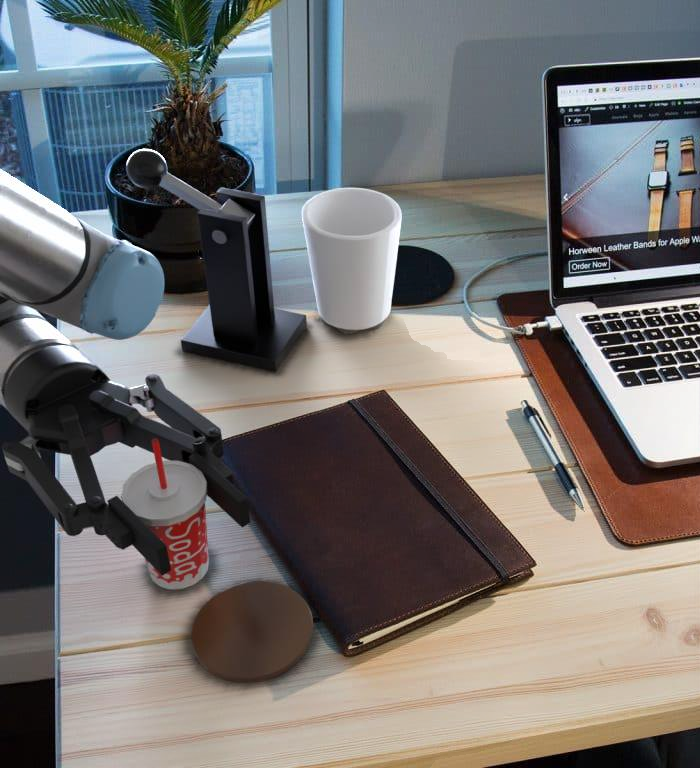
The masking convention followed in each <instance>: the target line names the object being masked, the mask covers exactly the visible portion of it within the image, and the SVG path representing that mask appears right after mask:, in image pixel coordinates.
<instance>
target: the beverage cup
mask: <svg viewBox="0 0 700 768" xmlns="http://www.w3.org/2000/svg"><path fill="white" fill-rule="evenodd" d="M152 446H153V451H154V453H153V456H154V461H155V462H153V463H150V464H146V465H144V466H143V467H141V468H140V469H137V470H135V472H133V473H132V474H131V475H130V476H129V478H127V480H126V481H125V482H124V484H123V486H122V490H121V494H120V495H121V496H120V499H121V500H122V501H123V502H124V503H125V504H126V505H127V506H128V507H129V508H130V509H131V510H132V511H133V512H134V513H135V514H136V515H137V516H138V517H139V518H140V519H141V520H142V521H143V522H144V523H145V524H146V525H147V526H148V527H149V528H150V529H151V530H152V531H153V532H154V533H155V534H156V535H157V536H158V537H159V538H160V539H161V540H162V541H163V542H164V543H165V544H166V546H167V551H168V556H169V561H170V566H171V571H169V572H168V573H166V574H164V575H163V576H162V575H161V574H160V573H159V572H158V571H157V570H156V569H155V568H154V567H153V566H152V565H151V564H150V563H149V562H148V561H147V560H146V559H145V558H144V561H145V563H146V566H147V569H148V572H149V575H150V578H151V580H152V582H153V583H155V584H156V585H157V586H158V587H160V588H164V589H167V590H183V589H186V588H189V587H191V586H192V587H193V586H194V585H196V584H197V583H199V582H200V581H201V580H202V579H203V578H204V576H205V575H206V573H207V572H208V571H209V564H210V557H209V544H208V543H209V541H208V528H207V527H208V526H207V513H206V502H207V496H208V495H207V482H206V480H205V477H204V475H203V473H202V472H201V471H200V470H199V469H197V468H196V467H195V466H193V465H192V464H188V463H185V462H181V461H170V460H163V457H162V456H161V451H160V445H159V440H158V438H153V439H152Z"/></svg>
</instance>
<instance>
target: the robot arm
mask: <svg viewBox="0 0 700 768" xmlns="http://www.w3.org/2000/svg"><path fill="white" fill-rule="evenodd" d="M164 294H165V273H164V270H163V267H162V266H161V263H160V261H159V260H158V258H157V257H156V256H155V255H154V254H152V253H151V252H150V251H147V250H145V249H143V248H141V247H139V246H135V245H133V244H132V242H130V241H129V240H126V239H121V240H120V239H117V238H115V237H113V236H110V235H108V234H106V233H104V232H101V231H100V230H98V229H96V228H95V227H93V226H92V225H90V224H89V223H87V222H85V221H84V220H82V219H80V218H79V217H77V216H75V215H73V214H71V213H69V212H68V211H67V209H64V207H63V208H62V207H61V206H60V205H58V204H56V202H55V203H54V202H53V201H52V200H50V199H49V198H47V197H45V196H44V195H42V194H40V193H39V192H37V191H36V190H34V189H32V188H31V187H29V186H28V185H26V184H25V183H23V182H21V181H20V180H18V179H17V178H15V177H13V176H11V174H9V173H7V172H6V171H3V170H2V169H1V168H0V404H1V405H2V406H3V407H4V408H5V409H6V410H7V411H8V413H9V414H10V415H11V416H12V418H14V419H15V420H16V421H17V423H19V425H20V426H22V427H23V428H24V430H26V432H28V435H27V436H26V437H25V438H23V439H21V440H20V441H17V440H7V441H5V442H4V443H2V445H1V450H2V454H3V456H4V459H5V462H6V465H7V468H8V471H9V472H10V473H11V474H13V475H15V476H17V477H18V478H20V479H23V480H24V481H26V482H27V483H28V485H29V486H30V487H31V488H32V490H33V491H34V493H36V495H37V497H38V498H39V499H40V500H41V501H42V502H41V503H43V504H44V506H45V507H46V509H47V510H48V511H49V513H50V514H51V516H53V517H54V519H55V521H56V522H57V523H58V524H59V526H60V527H61V528H62V530H63V531H64V532H65V534H66V535H68V536H70V537H76V536H78V535H80V534H82V532H83V531H84V529H87V528H93V530H94V533H95V535H97V536H102V537H103V536H105V537H106V538H107V539H108V540H109V541H110V542H111V543H112V544H113V545H114V546H115V548H117V549H120V550H123V551H124V550H126V549H127V548H129V547H131V546H133V548H134V549H135V550H137V552H139V553H140V555H141V556H142V557H143V558H144V560H145V559H146V560H147V561H148V562H149V563H150V564H151V565H152V566H153V567H154V568H155V569H156V570H157V571H158V572H159V573H160V574H161V575H162V576H163V575H164V574H166V573H168V572H169V571H171V566H170V561H169V556H168V551H167V546H166V544H165V543H164V542H163V541H162V540H161V539H160V538H159V537H158V536H157V535H156V534H155V533H154V532H153V531H152V530H151V529H150V528H149V527H148V526H147V525H146V524H145V523H144V522H143V521H142V520H141V519H140V518H139V517H138V516H137V515H136V514H135V513H134V512H133V511H132V510H131V509H130V508H129V507H128V506H127V505H126V504H125V503H124V502H123V501H122V498H121V497H119V496H118V495H115V496H113V497H111V498H109V499H108V500H107V502H106V498H105V495H104V493H103V489H102V487H101V483H100V480H99V478H98V474H97V472H96V468H95V465H94V463H93V460H92V457H91V456H93V455H96V454H97V453H99V452H100V451H102V450H103V449H105V447H108V446H111V445H114V444H117V443H120V444H123V445H125V446H127V447H129V448H131V449H133V448H135V447H138V448H139V449H142V450H145V451H147V452H149V453H152V454H154V451H153V446H152V439H153V438H158V440H159V445H160V451H161V456H162V459H165V460H166V461H181V462H185V463H188V464H192V465H193V466H195V467H196V468H197V469H199V470H200V471H201V472H202V473H203V475H204V477H205V480H206V482H207V496H208V497H209V498H210V499H211V500H212V501H213V502H214V503H215V504H216V505H217V506H218V507H219V508H220V509H222V510H223V512H224V513H226V514H227V515H228V516H229V517H230V518H231V519H232V520H233V521H234V522H235V523H236V524H238V526H240V527H241V528H244V527H246V526H247V525H249V524H250V523H251V517H250V507H249V499H248V497H247V496H246V495H245V494H244V493H242V491H240V490H239V489H238V488H237V487H236V486H235V484H234V476H233V472H232V469H231V468H230V467H229V466H227V465H226V464H225V463H224V462H223V461H222V460H221V459H220V458H222V457H223V456H224V455H225V450H224V441H223V435H222V429H221V427H219V426H217V424H215V423H214V422H212V421H211V420H210V419H208V418H207V417H205V416H204V415H203V414H201V413H200V412H199V411H197V410H196V409H195V408H193V407H192V406H190V405H189V404H188V403H186V402H185V401H184V400H183V399H181V398H180V397H178V396H177V395H176V394H174V393H173V392H172V391H170V390H169V389H167V388H166V386H165V384H164V382H163V380H162V378H161V376H160V375H159V374H157V373H152V374H148V375H147V376H145V379H144V380H145V384H141V385H137V386H133V387H130V388H129V387H127V386H126V385H124V384H121V383H117V382H114V381H112V380H111V379H110V377H109V376H108V375H107V374H106V373H105V372H104V371H103V370H102V369H101V368H100V367H99V366H98V365H97V364H96V363H95V362H94V361H92V360H91V359H90V358H89V357H88V356H87V355H86V354H85V353H84V352H83V351H82V350H80V349H79V348H78V347H77V346H76V345H75V344H74V343H73V342H71V340H69V339H68V338H67V337H66V336H65V335H64V334H63V333H61V332H60V331H59V330H58V328H56V327H55V326H54V325H53V324H52V323H50V322H49V321H48V320H47V319H46V318H44V316H42V314H45V315H47V316H49V317H51V318H55V319H57V320H59V321H61V322H63V323H66V324H68V325H70V326H71V325H72V326H74V327H76V328H78V329H81V330H82V331H85V332H86V333H88V334H91V335H92V334H96V335H99V336H102V337H104V338H107V339H111V340H115V341H123V340H128V339H132V338H134V337H136V336H137V335H139V334H141V333H142V332H143V331H145V329H146V328H147V327H148V326H149V325H150V324H151V323H152V321H153V320H154V318H155V316H156V314H157V312H158V309H159V306H160V305H161V304H162V301H163V298H164ZM41 313H42V314H41ZM136 404H138V405H140V406H142V407H143V408H144V409H146V412H148V413H152V412H153V413H154V414H155V415H156V416H157V418H158V419H160V420H161V421H162V422H163V423H162V422H159V421H156V420H154V419H152V418H150V417H148V416H146V415H143V414H142V413H140V411H139V410H138V409H137V408H136V407H134V406H133V405H136ZM40 451H42V452H49V453H54V454H55V453H57V454H63V455H68V456H70V458H71V461H72V464H73V468H74V470H75V473H76V476H77V478H78V482H79V485H80V488H81V492H82V494H83V498H84V500H85V501H84V502H81V503H77V502H76V501H75V500H74V499H73V498H72V496H71V495H70V494H69V492H68V491H67V490H66V489H65V488H64V486H63V485H62V484H61V482H60V481H59V480H58V478H57V477H56V476H55V474H54V473H53V472H52V471H51V469H50V468H49V466H47V464H46V463H45V461H44V460H43V459H42V456H41V453H40Z"/></svg>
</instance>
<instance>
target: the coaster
mask: <svg viewBox="0 0 700 768" xmlns="http://www.w3.org/2000/svg"><path fill="white" fill-rule="evenodd" d="M313 633H314V618H313V614H312V610H311V609H310V606H309V604H308V602H306V600H305V599H304V598H303V597H302V596H301V594H299V593H298V592H297V591H296V590H294V589H292V588H291V587H288V586H286V585H285V584H282V583H278V582H274V581H268V580H267V581H266V580H253V581H252V580H251V581H246V582H241V583H238V584H235V585H231V586H229V587H227V588H225V589H223V590H221V591H220V592H218V593H217V594H215V595H213V596H212V597H211V598H210V599H209V600H208V601H207V602H206V603H205V604H204V605H203V606H202V607H201V609H200V610H199V612H198V613H197V614H196V617H195V619H194V622H193V625H192V629H191V643H192V649H193V652H194V655H195V657H196V659H197V660H198V663H200V664H201V666H202V667H203V668H204V669H205V670H206V671H208V672H209V673H211V674H212V675H213V676H214V677H217V678H220V679H223V680H224V681H228V682H232V683H243V684H244V683H246V684H247V683H258V682H262V681H266V680H270V679H273V678H276V677H277V676H279V675H281V674H283V673H285V672H287V671H288V670H289V669H291V668H292V667H294V666H295V665H296V664H297V663H298V662H299V661H300V660H301V659H302V657H303V656H304V654H305V653H306V652H307V650H308V648H309V647H310V644H311V642H312V638H313V635H314V634H313Z"/></svg>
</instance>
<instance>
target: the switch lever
mask: <svg viewBox="0 0 700 768" xmlns="http://www.w3.org/2000/svg"><path fill="white" fill-rule="evenodd" d="M125 169H126V174H127V177H128V179H129V180H130V181H131V182H132V183H133V185H135V186H137V187H139V188H141V189H147V190H150V189H155V188H157V187H158V188H159V187H161V188H163V189H164V190H166V191H168V192H169V193H170V194H173V195H174V196H176V197H178V198H180V199H181V200H183V201H184V202H186V203H187V204H188V205H189V204H190V205H191V206H193V207H194V208H196V209H198V210H199V211H200V210H201V209H202V208H203V209H208V210H213V211H218V212H223V213H228V214H233V215H238V216H243V217H246V218H247V227H248V229H249V227H250V225H251V223H252V221H253V219H254V216H255V214H253V213H252V212H250V211H249V210H247V209H245V208H244V207H242V206H240V205H239V204H237V203H235V202H234V201H232V200H230V199H228V200H227V202H226V203H225V204H224V205H223V206H222V205H220V204H219V203H218V201H216V200H215V199H212V198H211V197H209V196H207V195H206V194H204V193H202V192H200V191H199V190H198V189H196V188H194V187H192V186H191V185H189V184H188V183H186V182H184V181H183V180H181V179H179V178H177V177H176V176H174V175H172V174H171V173H170V172H168V165H167V162H166V160H165V158H164V157H163V155H161V154H160V153H159V152H158V151H155V150H153V149H149V148H142V149H138V150H136V151H134V152H132V154H130V156H129V157H128V159H127V161H126V166H125Z"/></svg>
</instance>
